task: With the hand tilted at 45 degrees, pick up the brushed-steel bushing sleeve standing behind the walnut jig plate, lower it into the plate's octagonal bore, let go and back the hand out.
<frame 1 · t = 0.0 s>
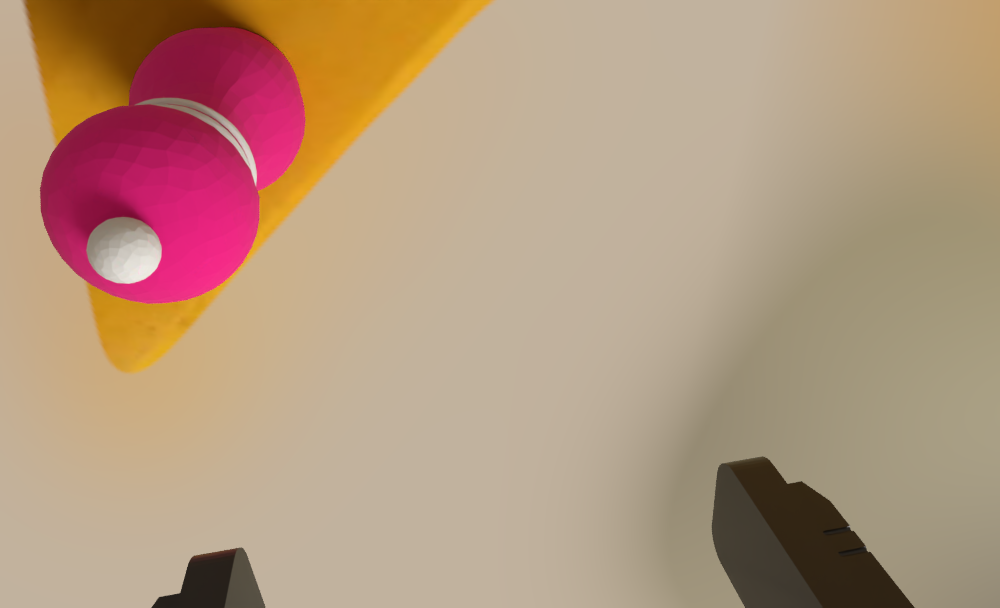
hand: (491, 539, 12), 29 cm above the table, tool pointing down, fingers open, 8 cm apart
pepper mill: (236, 92, 36), on the table
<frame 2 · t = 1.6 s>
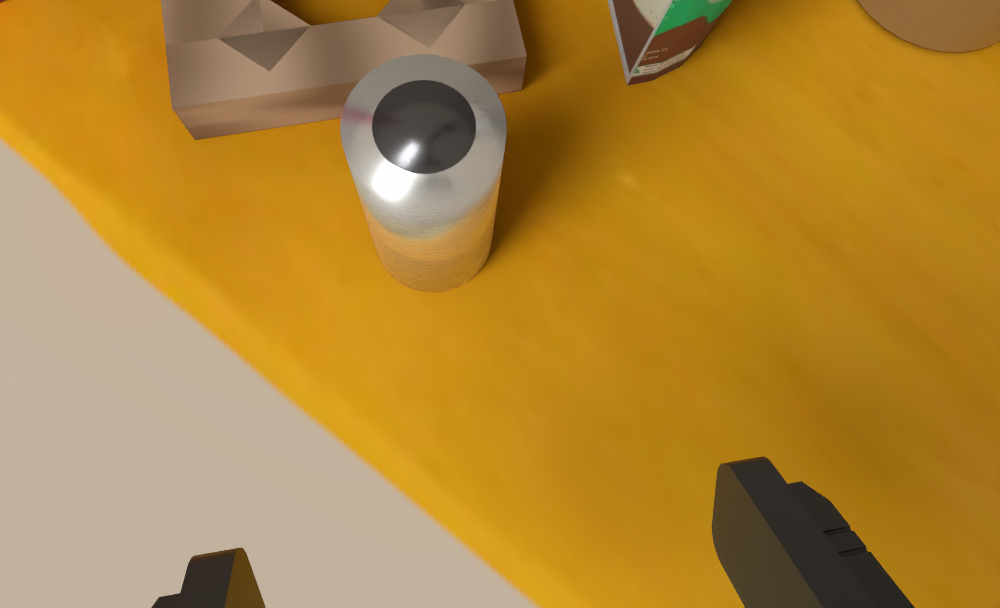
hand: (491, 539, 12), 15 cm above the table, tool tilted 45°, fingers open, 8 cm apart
bushing: (433, 236, 29), on the table
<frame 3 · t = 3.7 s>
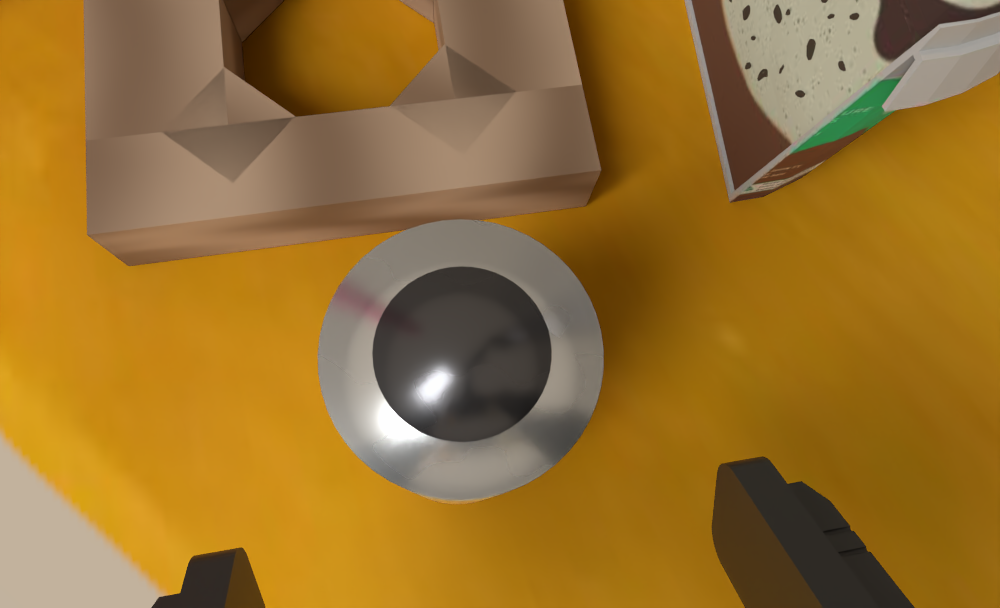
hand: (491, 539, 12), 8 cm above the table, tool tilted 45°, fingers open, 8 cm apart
food container: (784, 74, 25), on the table
jig: (343, 66, 24), on the table
bushing: (458, 418, 21), on the table
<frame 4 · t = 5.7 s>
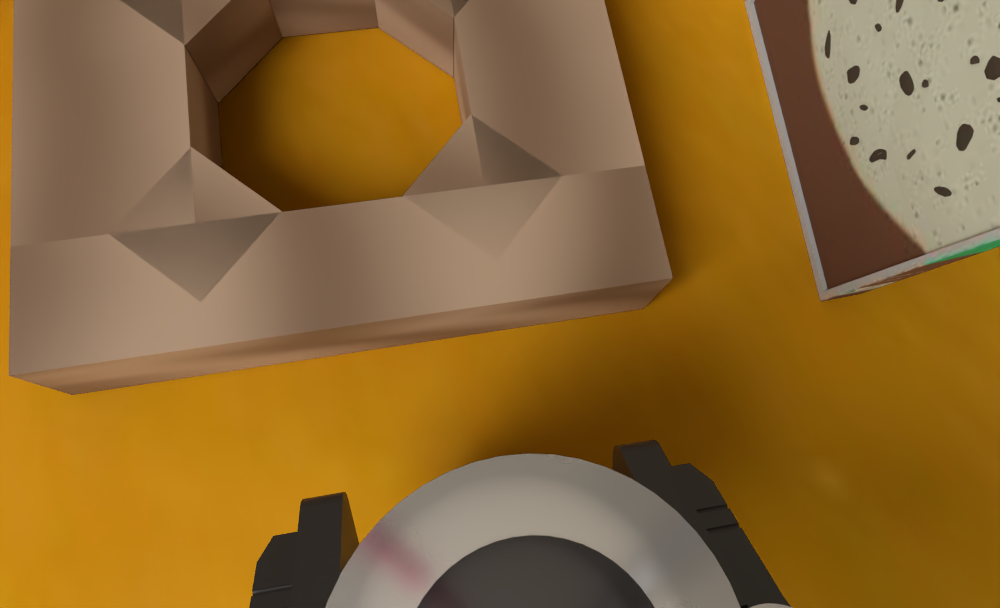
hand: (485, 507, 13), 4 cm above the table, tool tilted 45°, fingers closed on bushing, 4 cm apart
food container: (879, 137, 20), on the table
jig: (343, 133, 19), on the table
bushing: (491, 591, 16), on the table, touching gripper
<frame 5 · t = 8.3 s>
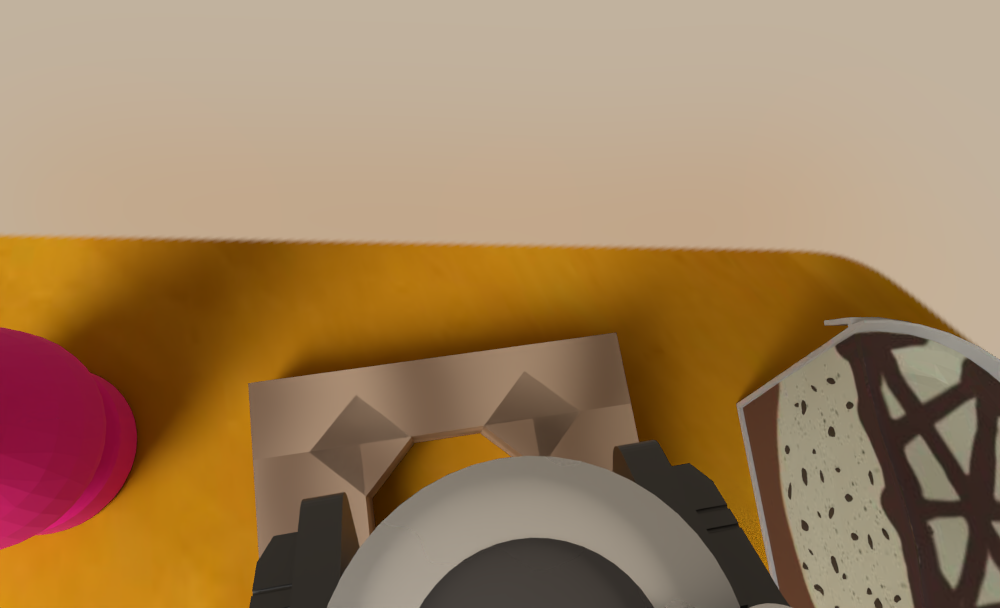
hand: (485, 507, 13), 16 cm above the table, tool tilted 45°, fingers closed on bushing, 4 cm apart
food container: (828, 510, 29), on the table
jig: (458, 520, 28), on the table
pepper mill: (57, 449, 28), on the table
bushing: (491, 592, 16), point 12 cm above the table, touching gripper
when the fingers open (6 cm above the table, at t = 11.3 s): bushing drops 2 cm, resting in jig.
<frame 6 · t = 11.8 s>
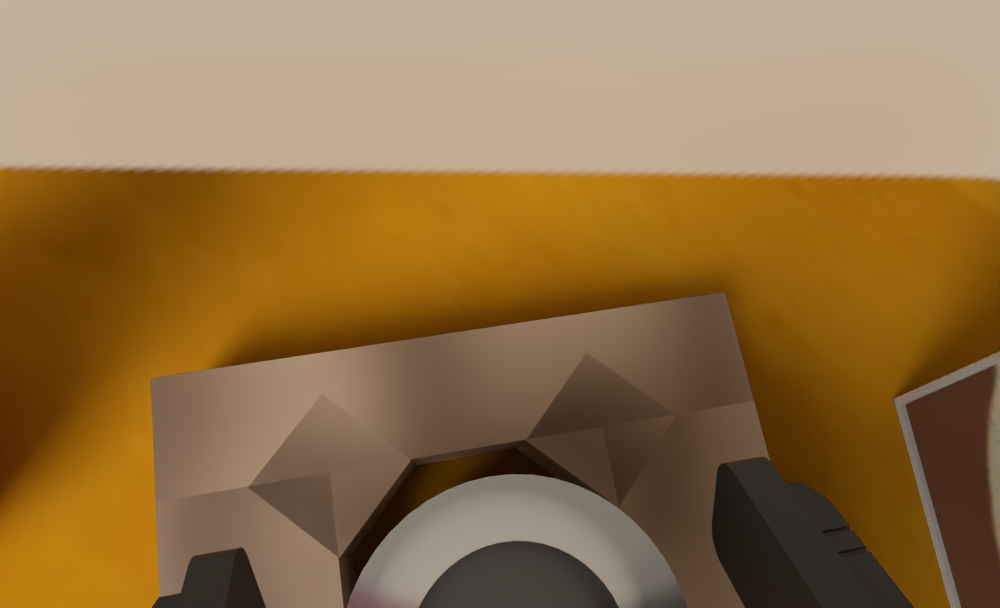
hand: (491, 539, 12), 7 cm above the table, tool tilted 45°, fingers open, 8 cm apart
jig: (486, 584, 18), on the table
bushing: (486, 588, 18), resting in jig
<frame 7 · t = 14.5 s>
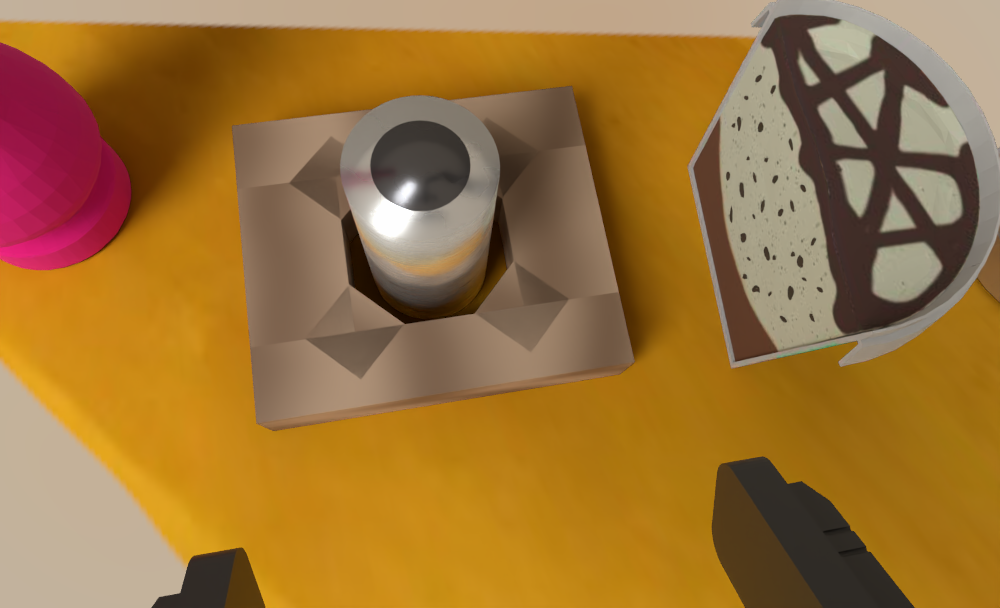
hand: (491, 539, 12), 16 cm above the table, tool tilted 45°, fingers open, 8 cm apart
food container: (773, 258, 32), on the table
jig: (429, 261, 30), on the table
pepper mill: (58, 202, 30), on the table
bushing: (429, 264, 30), resting in jig
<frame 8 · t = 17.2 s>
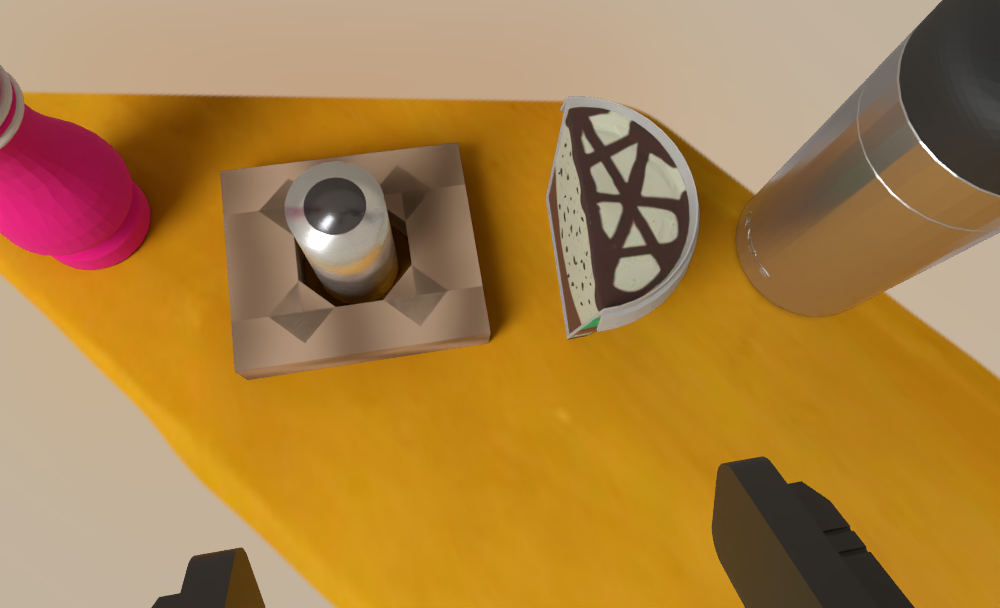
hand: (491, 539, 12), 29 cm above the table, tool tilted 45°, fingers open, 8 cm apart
food container: (604, 262, 45), on the table
jig: (358, 264, 43), on the table
pepper mill: (99, 223, 43), on the table
bushing: (358, 266, 43), resting in jig
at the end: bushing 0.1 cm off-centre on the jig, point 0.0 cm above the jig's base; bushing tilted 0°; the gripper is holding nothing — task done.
